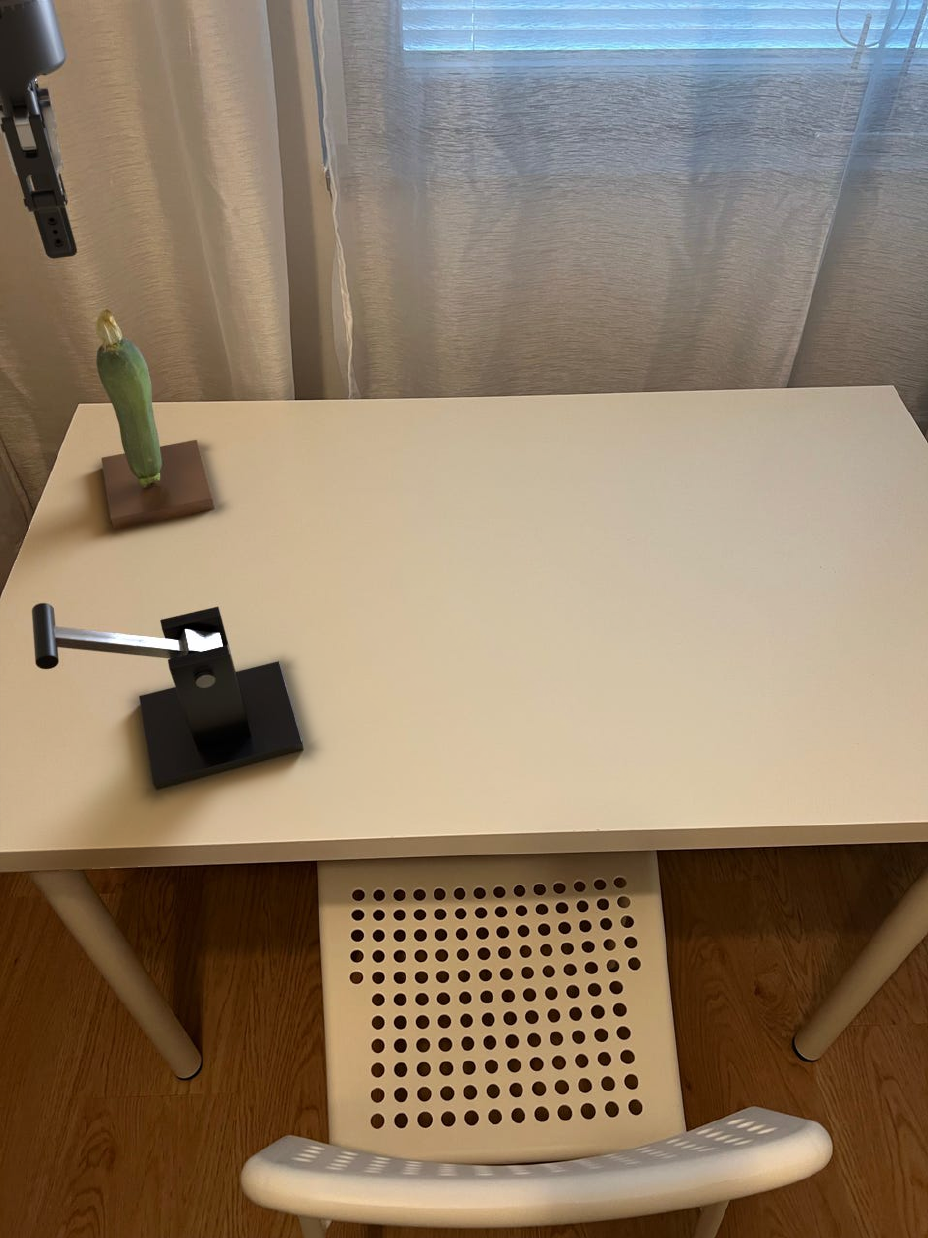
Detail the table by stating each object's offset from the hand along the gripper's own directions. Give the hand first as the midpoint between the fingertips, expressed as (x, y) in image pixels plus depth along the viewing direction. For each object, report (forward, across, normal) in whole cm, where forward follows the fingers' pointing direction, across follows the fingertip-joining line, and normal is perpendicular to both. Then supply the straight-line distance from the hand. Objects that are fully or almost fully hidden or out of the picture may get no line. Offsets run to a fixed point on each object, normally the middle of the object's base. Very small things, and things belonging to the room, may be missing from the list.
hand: (58, 229), depth 73 cm
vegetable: (+28, -4, +2) cm, 29 cm away
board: (+30, -4, +2) cm, 30 cm away
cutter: (+30, +28, +3) cm, 41 cm away
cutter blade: (+19, +28, -2) cm, 34 cm away
